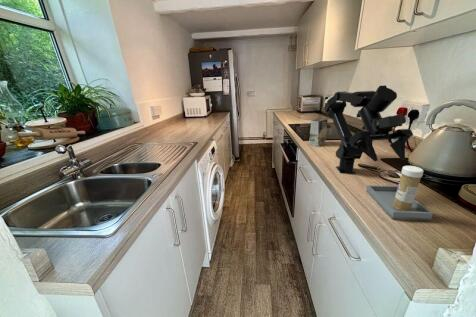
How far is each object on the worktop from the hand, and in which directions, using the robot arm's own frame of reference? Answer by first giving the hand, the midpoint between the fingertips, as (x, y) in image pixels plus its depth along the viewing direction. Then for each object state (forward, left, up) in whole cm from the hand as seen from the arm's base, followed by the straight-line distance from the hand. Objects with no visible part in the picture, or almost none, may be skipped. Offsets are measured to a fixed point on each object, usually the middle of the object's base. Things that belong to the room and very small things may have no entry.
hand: (389, 160), depth 64 cm
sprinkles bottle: (+8, +2, -13) cm, 15 cm away
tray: (+5, +2, -14) cm, 14 cm away
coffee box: (-64, -7, -14) cm, 66 cm away
